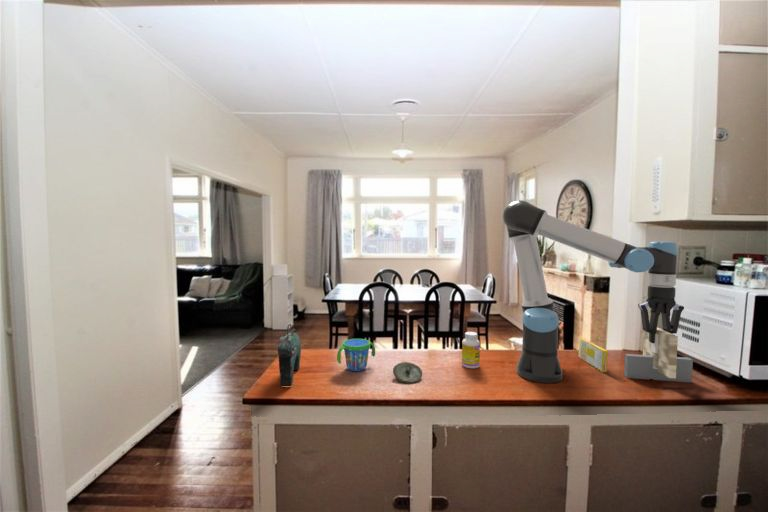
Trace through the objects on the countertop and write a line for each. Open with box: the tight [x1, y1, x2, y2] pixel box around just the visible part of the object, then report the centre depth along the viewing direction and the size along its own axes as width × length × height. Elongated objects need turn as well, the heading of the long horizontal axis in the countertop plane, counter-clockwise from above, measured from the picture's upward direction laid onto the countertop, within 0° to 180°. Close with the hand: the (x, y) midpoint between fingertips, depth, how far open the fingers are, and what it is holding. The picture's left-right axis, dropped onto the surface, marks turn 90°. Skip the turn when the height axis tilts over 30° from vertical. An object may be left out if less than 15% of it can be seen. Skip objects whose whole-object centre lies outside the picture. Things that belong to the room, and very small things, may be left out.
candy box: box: [578, 337, 609, 373], centre depth 135 cm, size 16×2×8 cm, turn 179°
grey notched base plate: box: [623, 353, 694, 383], centre depth 121 cm, size 20×2×8 cm, turn 79°
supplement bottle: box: [461, 331, 481, 369], centre depth 133 cm, size 7×7×13 cm
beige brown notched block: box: [642, 326, 679, 378], centre depth 120 cm, size 16×2×14 cm, turn 169°
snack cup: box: [336, 338, 376, 372], centre depth 131 cm, size 16×10×10 cm
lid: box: [392, 361, 423, 384], centre depth 122 cm, size 11×10×5 cm
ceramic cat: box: [277, 323, 302, 387], centre depth 122 cm, size 20×6×20 cm, turn 3°
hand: (658, 352), depth 120 cm, fingers closed on beige brown notched block, 2 cm apart
